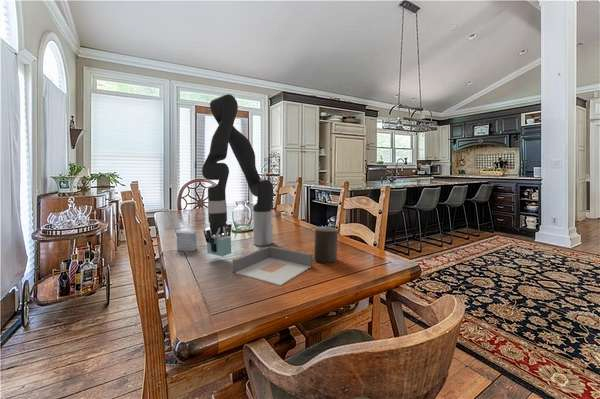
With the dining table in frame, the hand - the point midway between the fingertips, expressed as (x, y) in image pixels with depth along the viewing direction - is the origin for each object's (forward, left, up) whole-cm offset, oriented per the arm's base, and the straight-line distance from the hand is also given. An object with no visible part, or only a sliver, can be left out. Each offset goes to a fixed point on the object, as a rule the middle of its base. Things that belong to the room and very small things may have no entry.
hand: (219, 250), depth 119 cm
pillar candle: (-25, +38, -4) cm, 46 cm away
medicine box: (-2, -24, -4) cm, 24 cm away
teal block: (0, 0, -1) cm, 1 cm away
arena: (-4, +26, -4) cm, 27 cm away
